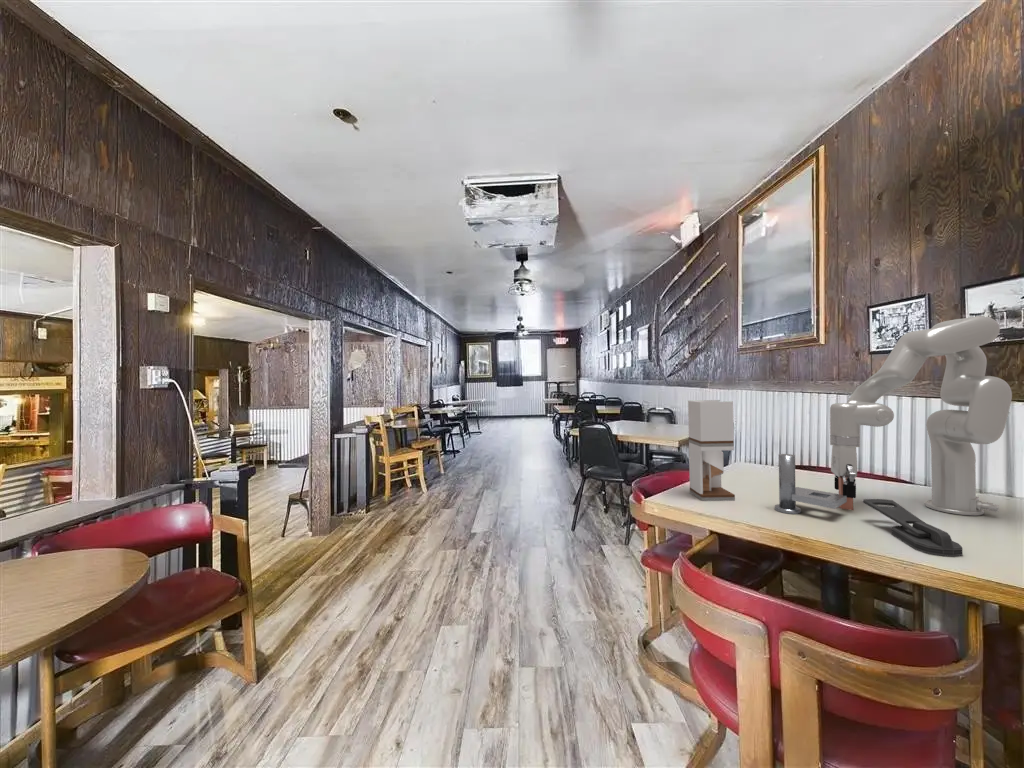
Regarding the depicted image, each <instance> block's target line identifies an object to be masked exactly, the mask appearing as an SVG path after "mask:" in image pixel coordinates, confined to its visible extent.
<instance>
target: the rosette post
mask: <svg viewBox="0 0 1024 768" xmlns="http://www.w3.org/2000/svg"><path fill="white" fill-rule="evenodd" d="M778 497H779V498H778V499H779V500H778V501H779V504H778V503H777V504H775V505H774V510H775V511H776V512H778V513H782V514H787V515H801V514H802V510H801V508H800V507H798V506H796V505H797V504H796V503H797V502H798V503H802V504H807V505H814V506H817V507H818V506H819V507H824V508H827V509H837V508H838V507H839V506H841V505H842V504H844V503H846V502H847V496H846V495H840V494H839V493H833V492H828V491H822V490H817V489H810V488H806V487H799V486H796V455H794V454H791V453H778ZM839 508H840V507H839Z"/></svg>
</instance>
